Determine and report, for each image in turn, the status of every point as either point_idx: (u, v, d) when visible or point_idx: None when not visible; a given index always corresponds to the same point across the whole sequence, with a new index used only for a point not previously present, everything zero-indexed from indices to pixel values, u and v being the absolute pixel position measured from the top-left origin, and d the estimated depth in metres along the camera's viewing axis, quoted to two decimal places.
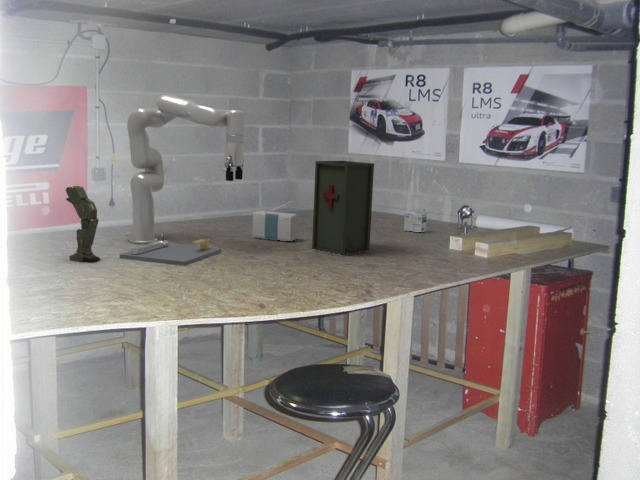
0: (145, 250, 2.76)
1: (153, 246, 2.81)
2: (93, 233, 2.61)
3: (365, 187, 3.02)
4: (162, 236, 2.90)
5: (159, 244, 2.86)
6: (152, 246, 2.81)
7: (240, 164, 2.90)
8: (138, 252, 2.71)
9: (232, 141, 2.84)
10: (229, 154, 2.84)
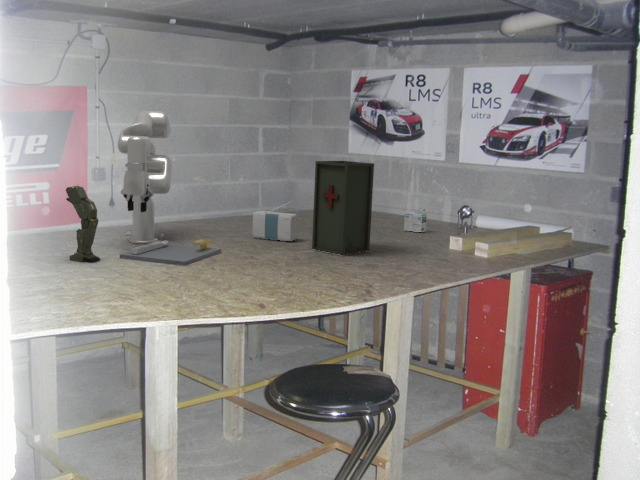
0: (145, 250, 2.76)
1: (153, 246, 2.81)
2: (93, 233, 2.61)
3: (365, 187, 3.02)
4: (162, 236, 2.90)
5: (159, 244, 2.86)
6: (152, 246, 2.81)
7: None
8: (138, 252, 2.71)
9: (145, 169, 2.77)
10: (147, 183, 2.77)
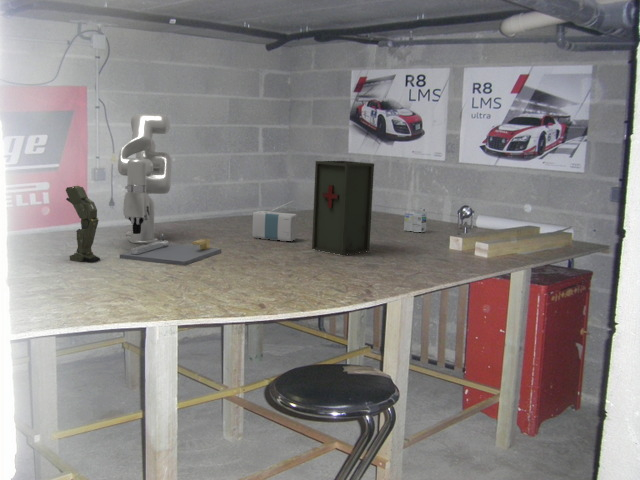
0: (145, 250, 2.76)
1: (153, 246, 2.81)
2: (93, 233, 2.61)
3: (365, 187, 3.02)
4: (162, 236, 2.90)
5: (159, 244, 2.86)
6: (152, 246, 2.81)
7: None
8: (138, 252, 2.71)
9: (145, 191, 2.78)
10: (147, 204, 2.78)
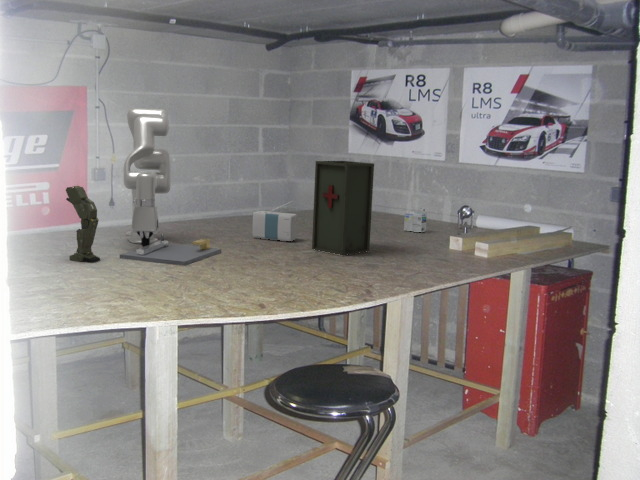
0: (150, 250, 2.75)
1: (156, 246, 2.81)
2: (93, 233, 2.61)
3: (365, 187, 3.02)
4: (162, 236, 2.90)
5: (160, 244, 2.86)
6: (155, 246, 2.80)
7: None
8: (144, 252, 2.71)
9: (154, 205, 2.79)
10: (157, 218, 2.79)
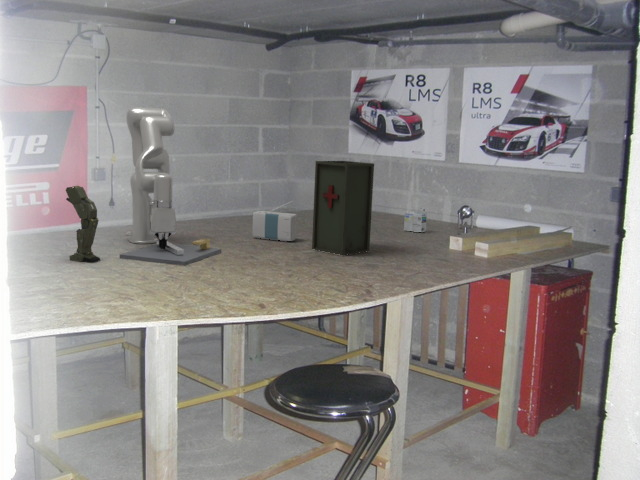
0: None
1: None
2: (93, 233, 2.61)
3: (365, 187, 3.02)
4: (163, 236, 2.90)
5: None
6: None
7: None
8: None
9: None
10: None
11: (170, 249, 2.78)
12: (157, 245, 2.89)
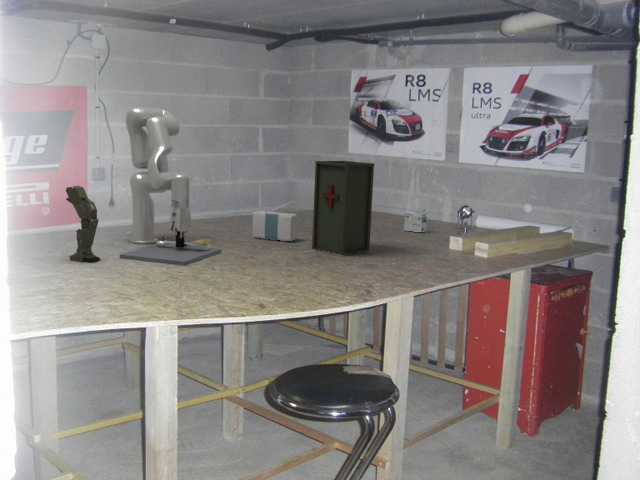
0: None
1: None
2: (93, 233, 2.61)
3: (365, 187, 3.02)
4: None
5: None
6: None
7: None
8: None
9: None
10: None
11: (191, 246, 2.86)
12: (160, 245, 2.89)
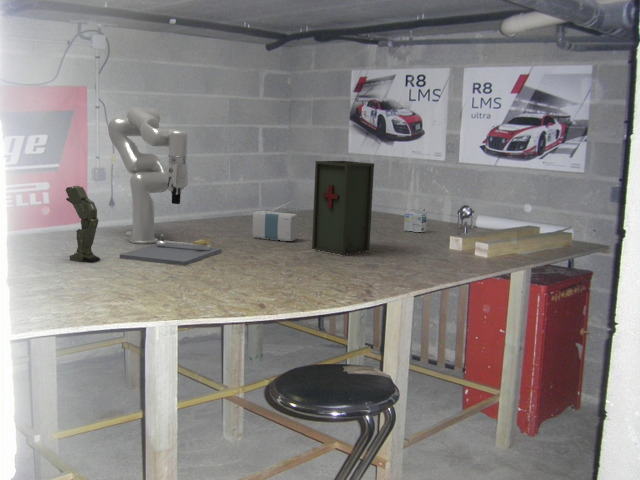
0: None
1: None
2: (93, 233, 2.61)
3: (365, 187, 3.02)
4: None
5: None
6: None
7: None
8: None
9: None
10: None
11: (191, 246, 2.86)
12: (160, 245, 2.89)
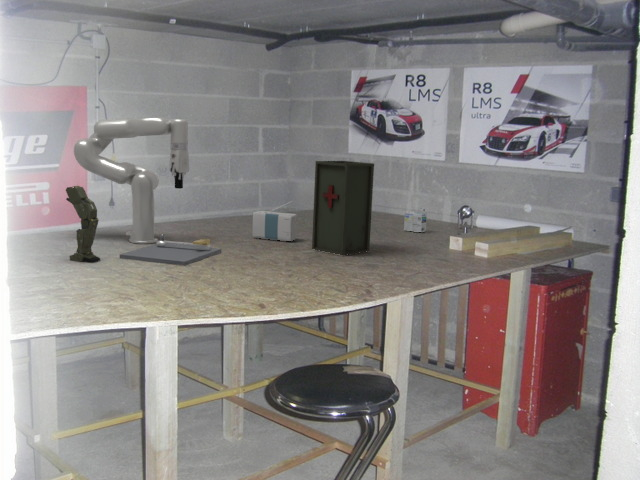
0: None
1: None
2: (93, 233, 2.61)
3: (365, 187, 3.02)
4: None
5: None
6: None
7: None
8: None
9: None
10: None
11: (191, 246, 2.86)
12: (160, 245, 2.89)
